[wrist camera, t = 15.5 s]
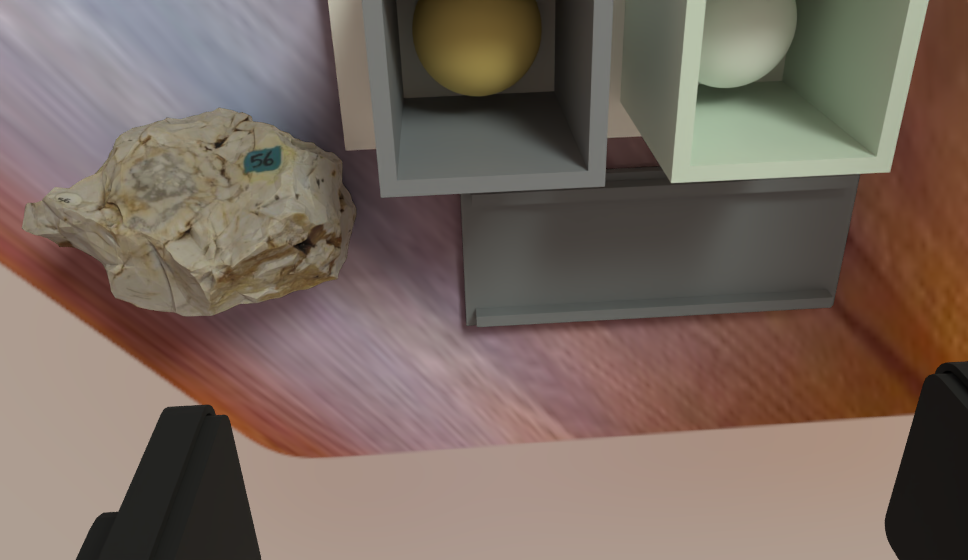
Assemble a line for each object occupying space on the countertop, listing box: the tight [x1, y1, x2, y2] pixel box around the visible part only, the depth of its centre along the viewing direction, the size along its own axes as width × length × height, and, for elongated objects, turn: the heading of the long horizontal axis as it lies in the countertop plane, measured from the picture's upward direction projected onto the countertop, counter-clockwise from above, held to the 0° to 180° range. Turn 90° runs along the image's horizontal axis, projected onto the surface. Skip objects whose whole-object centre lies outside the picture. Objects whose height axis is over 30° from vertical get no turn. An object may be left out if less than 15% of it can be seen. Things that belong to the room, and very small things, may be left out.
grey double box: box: [328, 0, 929, 198], centre depth 32 cm, size 22×11×10 cm, turn 92°
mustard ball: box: [412, 0, 542, 96], centre depth 33 cm, size 5×5×5 cm
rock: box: [22, 108, 357, 316], centre depth 36 cm, size 12×7×10 cm, turn 78°
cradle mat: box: [460, 167, 860, 327], centre depth 41 cm, size 19×8×1 cm, turn 92°
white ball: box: [698, 0, 797, 88], centre depth 33 cm, size 5×5×5 cm
